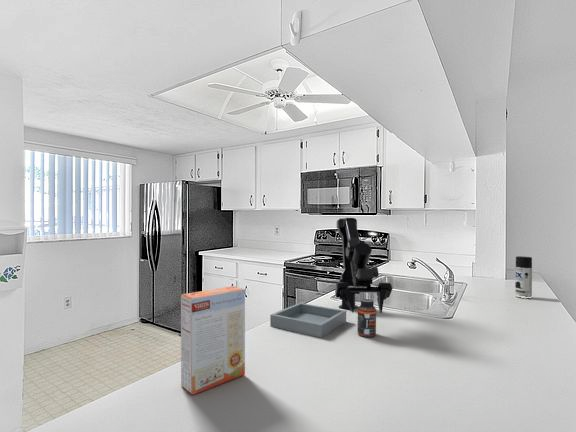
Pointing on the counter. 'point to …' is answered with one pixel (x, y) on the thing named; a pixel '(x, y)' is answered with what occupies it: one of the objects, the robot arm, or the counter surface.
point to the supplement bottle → (366, 318)
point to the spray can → (523, 276)
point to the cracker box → (212, 337)
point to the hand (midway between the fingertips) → (367, 312)
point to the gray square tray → (308, 319)
